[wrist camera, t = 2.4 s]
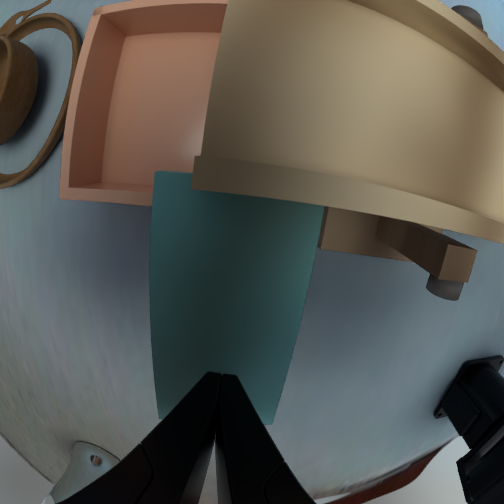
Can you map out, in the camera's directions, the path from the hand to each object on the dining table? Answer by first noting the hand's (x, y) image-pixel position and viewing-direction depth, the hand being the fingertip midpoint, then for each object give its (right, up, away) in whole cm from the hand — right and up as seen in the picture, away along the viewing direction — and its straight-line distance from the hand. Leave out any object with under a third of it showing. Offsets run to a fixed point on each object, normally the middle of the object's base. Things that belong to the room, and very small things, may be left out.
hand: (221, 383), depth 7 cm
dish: (-2, +11, +5) cm, 12 cm away
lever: (+7, +4, +1) cm, 8 cm away
